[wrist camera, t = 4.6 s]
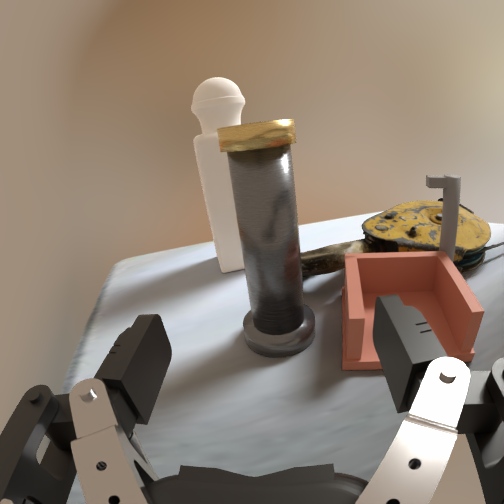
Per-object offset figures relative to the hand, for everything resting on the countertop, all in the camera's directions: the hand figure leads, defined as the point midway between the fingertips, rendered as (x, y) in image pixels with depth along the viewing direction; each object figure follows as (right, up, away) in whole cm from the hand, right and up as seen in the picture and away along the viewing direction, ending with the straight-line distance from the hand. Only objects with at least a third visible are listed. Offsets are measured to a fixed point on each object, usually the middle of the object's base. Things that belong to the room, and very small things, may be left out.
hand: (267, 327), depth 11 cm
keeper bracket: (+12, -3, +12) cm, 17 cm away
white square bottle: (-2, +2, +28) cm, 28 cm away
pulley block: (+17, +2, +22) cm, 28 cm away
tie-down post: (+2, -4, +13) cm, 14 cm away
